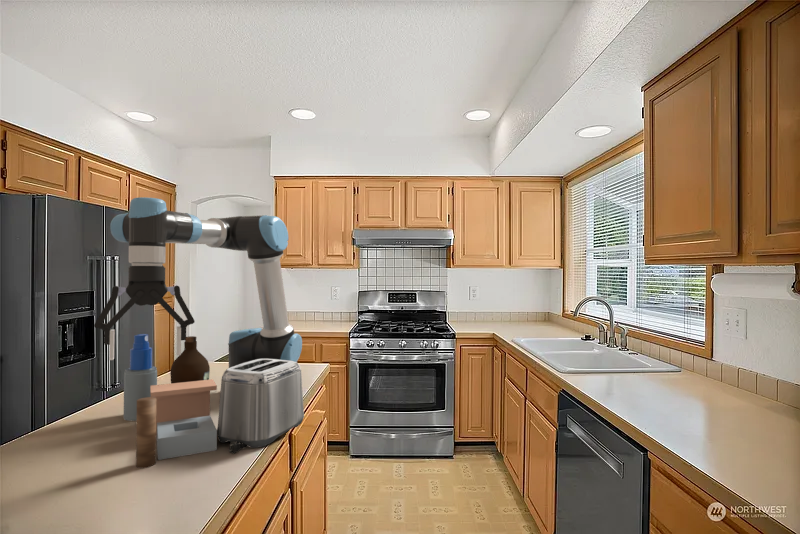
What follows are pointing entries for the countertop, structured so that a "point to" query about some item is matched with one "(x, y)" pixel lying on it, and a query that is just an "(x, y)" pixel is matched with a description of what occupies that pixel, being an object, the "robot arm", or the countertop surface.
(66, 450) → the countertop surface
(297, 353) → the robot arm
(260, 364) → the toaster
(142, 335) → the spray bottle
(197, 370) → the olive oil
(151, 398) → the peg
